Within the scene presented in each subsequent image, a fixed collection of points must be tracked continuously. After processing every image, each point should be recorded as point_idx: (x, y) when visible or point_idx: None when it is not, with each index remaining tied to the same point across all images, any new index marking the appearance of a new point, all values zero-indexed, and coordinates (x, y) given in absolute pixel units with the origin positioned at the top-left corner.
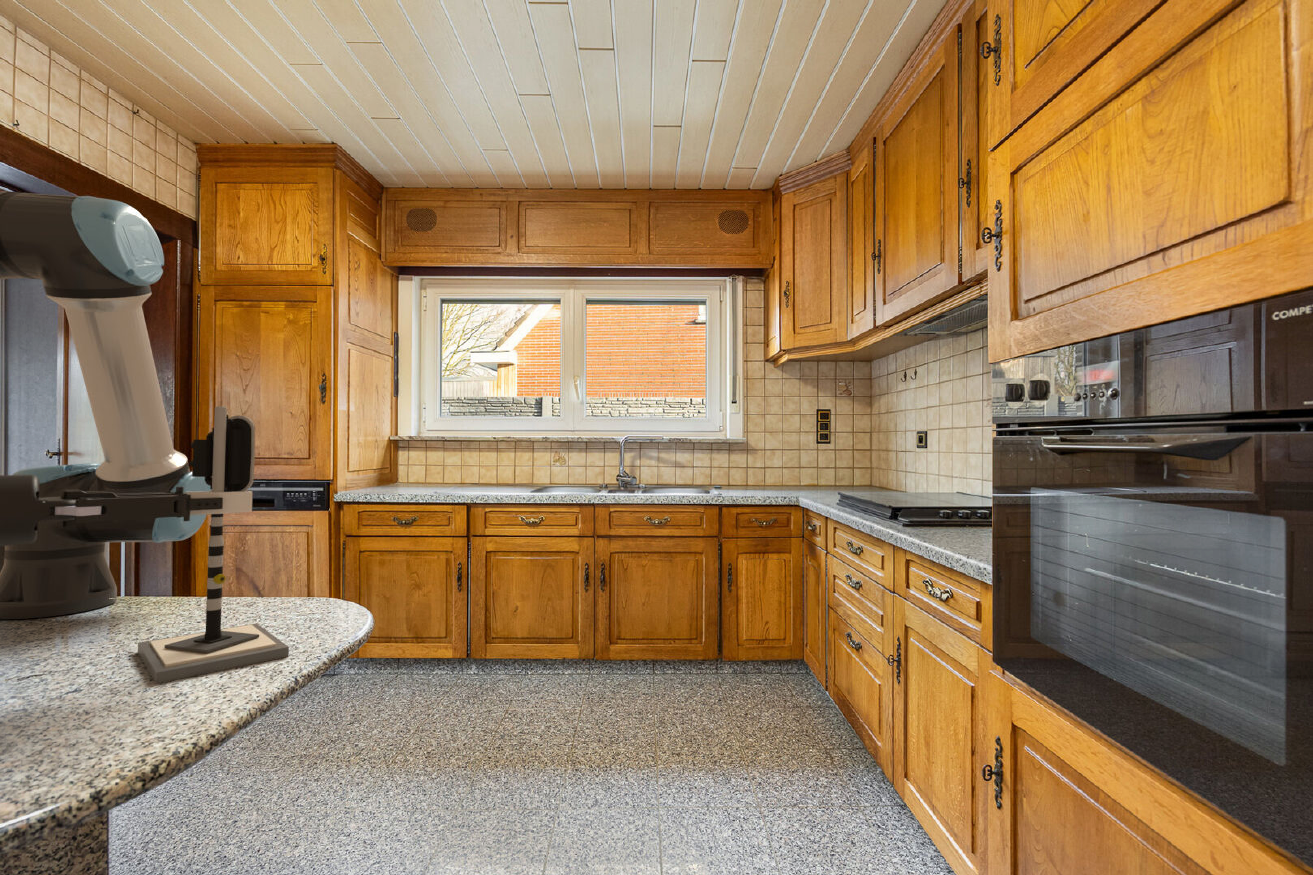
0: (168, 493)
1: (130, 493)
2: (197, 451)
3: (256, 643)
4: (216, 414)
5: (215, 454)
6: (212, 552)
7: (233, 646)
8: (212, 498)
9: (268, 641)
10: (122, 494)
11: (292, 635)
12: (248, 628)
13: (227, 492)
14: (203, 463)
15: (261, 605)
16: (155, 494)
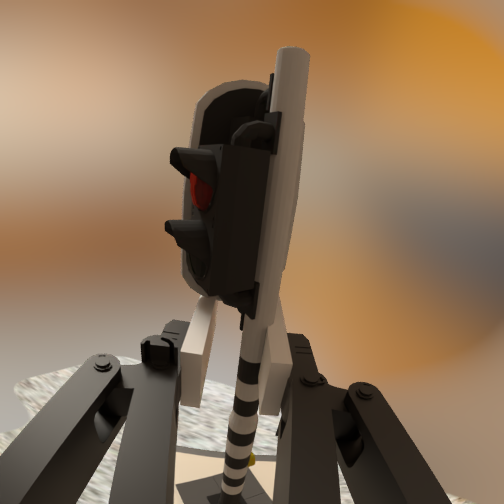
0: (170, 386)
1: (43, 443)
2: (239, 196)
3: (273, 475)
4: (302, 72)
5: (289, 208)
6: (251, 438)
7: (268, 495)
8: (305, 348)
9: (274, 465)
10: (43, 471)
11: (208, 434)
12: (184, 459)
13: (282, 313)
14: (254, 242)
15: (40, 381)
16: (169, 419)
